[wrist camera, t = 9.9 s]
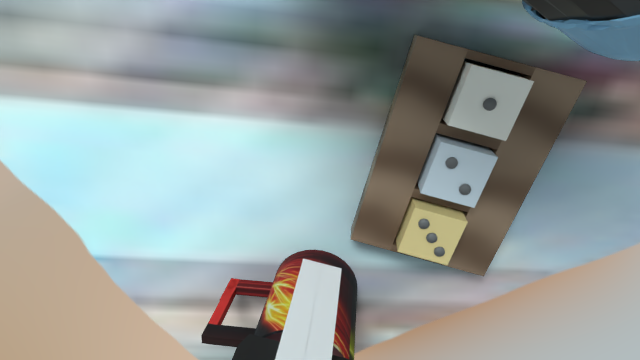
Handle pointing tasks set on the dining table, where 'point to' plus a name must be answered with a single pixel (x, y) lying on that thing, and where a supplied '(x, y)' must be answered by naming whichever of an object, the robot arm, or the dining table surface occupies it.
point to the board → (426, 120)
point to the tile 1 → (430, 231)
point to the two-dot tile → (456, 170)
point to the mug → (286, 305)
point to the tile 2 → (486, 100)
